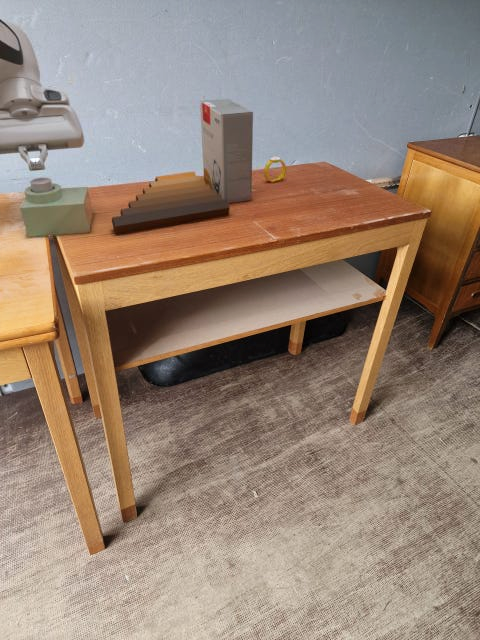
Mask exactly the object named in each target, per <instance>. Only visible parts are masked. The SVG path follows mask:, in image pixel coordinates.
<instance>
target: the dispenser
mask: <svg viewBox="0 0 480 640" xmlns="http://www.w3.org/2000/svg"><path fill="white" fill-rule="evenodd" d="M52 185H53V190H51V191H49V192H44V193H34V192H33V191H32V187H31V185H30V186H28V187H26V188H25V189H24V191H23V193H24V196H25V197H24V199H23V201H22V203H21V205H20V206H19V211H20V214H21V217H22V221H23V224H24V228H25V231H26V234H27V237H28V238H34V237H35V238H36V237H47V236H48V237H49V236H61V235H62V236H63V235H73V234H74V235H75V234H85V233H90V231H91V228H92V227H91V226H92V221H93V216H94V212H93V207H92V203H91V197H90V192H89V188H88V186H80V187H79V186H78V187H62V186H61V185H60V184H58V183H53V182H52Z"/></svg>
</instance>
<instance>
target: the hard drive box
mask: <svg viewBox="0 0 480 640" xmlns="http://www.w3.org/2000/svg"><path fill="white" fill-rule="evenodd" d="M199 105H200V124H201V125H200V126H201V148H202V169H203V171H202V172H203V180H204V181H205V184H206V185H207V184H209V185H210V188H211V189H215V191H216V194H221V197H222V199H223V200H224V199H227V202H228V204H234V203H241V202H247V201H252V190H253V189H252V188H253V141H254V139H253V138H254V137H253V136H254V135H253V134H254V127H253V126H254V111H252V110H250V109H248V108H246V107H245V106H243V105H241V104H239V103H237V102H235V101H233V100H232V99H229V98H223V99H208V100H200V101H199Z"/></svg>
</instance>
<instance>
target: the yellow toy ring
mask: <svg viewBox="0 0 480 640" xmlns="http://www.w3.org/2000/svg"><path fill="white" fill-rule="evenodd" d="M273 163H276V164H277V163H280V164H281V168H282V169H281V173H280V175H279V176H277V177H276V178H272V179H270V177H269V168H270V166H271V165H273ZM286 165H287V164H286V163H285V162H284V160H282V158H281V157H279V156H272V157H269V160H268V161H267V163H265V166H264V169H263V175H264V177H265V179H266V180H267V181H268V182H270V183H275V182H280V181H282V180H283V179H284V177H285V175H286V172H287V166H286Z"/></svg>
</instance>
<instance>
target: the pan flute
mask: <svg viewBox="0 0 480 640" xmlns="http://www.w3.org/2000/svg"><path fill="white" fill-rule="evenodd" d="M127 205H128V207H126V208H121V209H120V215H118V216H112V217H111V222H112V227H113V231H114V233H115V236H117V235H123V234H130V233H135V232H142V231H147V230H152V229H157V228H158V229H159V228H165V227H169V226H176V225H180V224H188V223H193V222H198V221H205V220H210V219H216V218H221V217H228V216H229V215H230V208H231V207H230V203H228V202H227V199H224V200H223V199H222V197H221V194H216V191H215V189H211V188H210V185H209V184H207V185H206V184H205V181H204V179H201V177H200V175H196V172H195V171H187V172H181V173H179V172H178V173H172V174H165V175H157V176H155V178H154V181H150V182H149V184H148V187H143V189H142V193H138V194H136V196H135V200H130V201H128V204H127Z"/></svg>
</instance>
